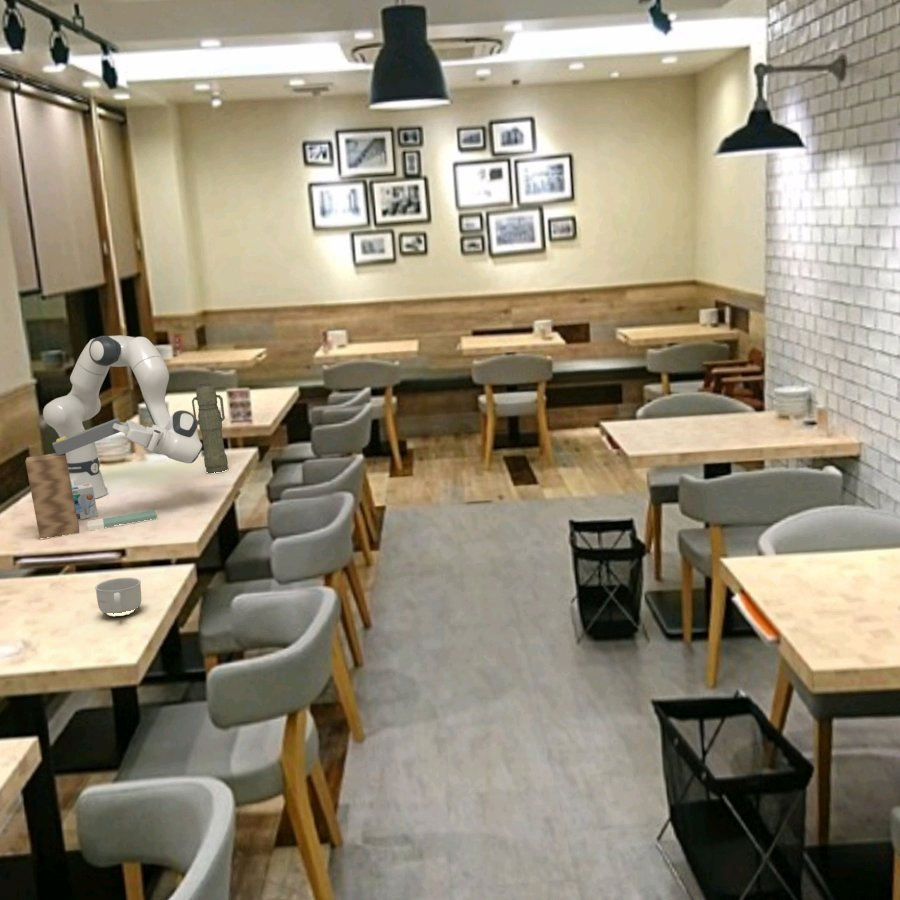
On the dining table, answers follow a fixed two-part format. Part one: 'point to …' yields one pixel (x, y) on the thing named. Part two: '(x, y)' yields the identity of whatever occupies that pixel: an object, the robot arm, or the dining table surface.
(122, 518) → the board
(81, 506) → the light bulb box
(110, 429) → the grey rectangular bar
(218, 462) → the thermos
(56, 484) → the brown wooden block
